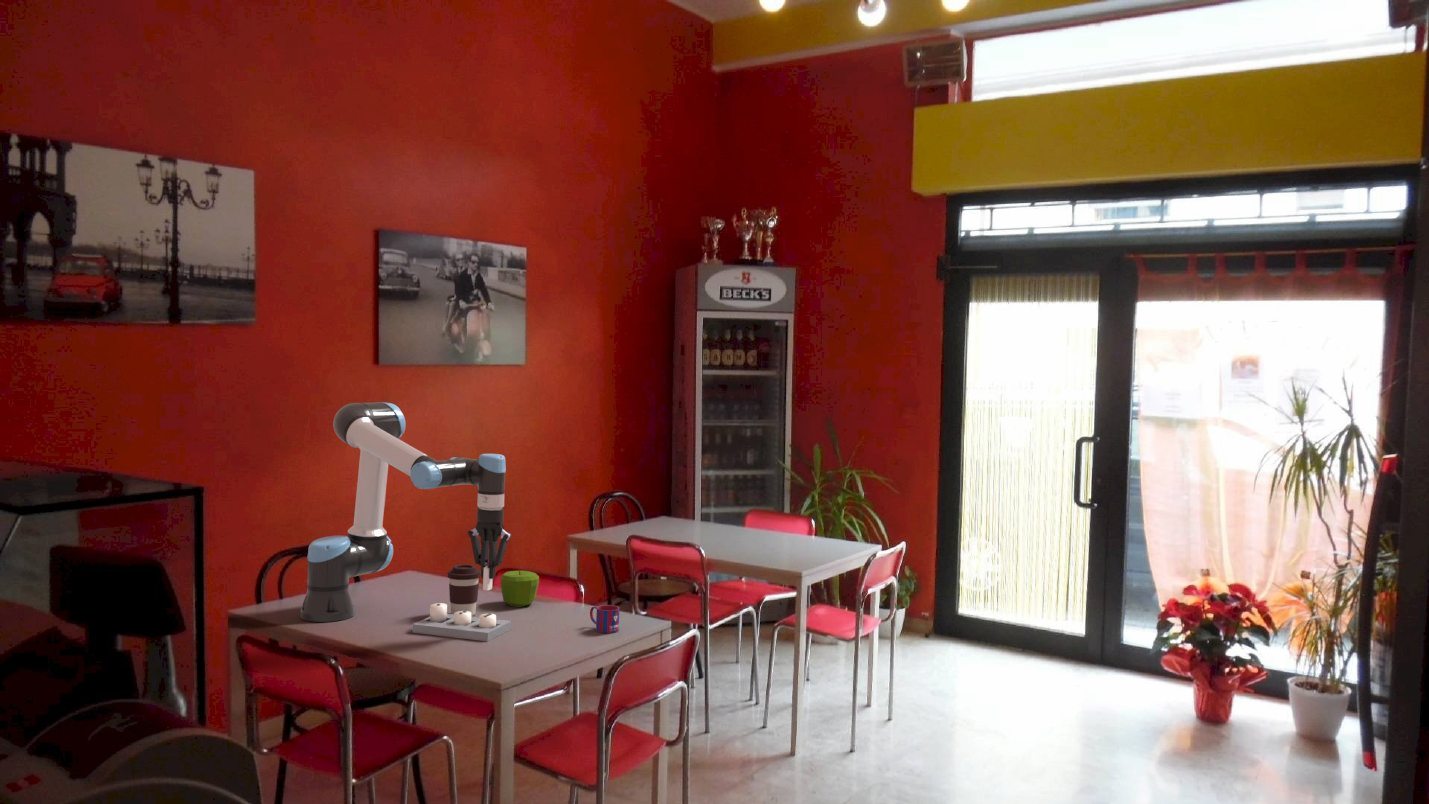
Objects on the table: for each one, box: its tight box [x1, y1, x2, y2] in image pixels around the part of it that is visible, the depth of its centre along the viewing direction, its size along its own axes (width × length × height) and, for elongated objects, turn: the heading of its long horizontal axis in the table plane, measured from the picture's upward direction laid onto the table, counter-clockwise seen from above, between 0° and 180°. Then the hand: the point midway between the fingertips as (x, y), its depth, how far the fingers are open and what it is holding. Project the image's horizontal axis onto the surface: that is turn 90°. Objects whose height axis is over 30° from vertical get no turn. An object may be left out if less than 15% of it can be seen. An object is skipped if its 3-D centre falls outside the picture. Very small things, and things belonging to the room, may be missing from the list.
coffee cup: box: [447, 564, 481, 617], centre depth 301 cm, size 10×10×15 cm
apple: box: [500, 569, 540, 608], centre depth 317 cm, size 12×12×11 cm
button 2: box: [454, 611, 471, 626], centre depth 284 cm, size 5×5×5 cm
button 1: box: [429, 602, 448, 622], centre depth 286 cm, size 5×5×5 cm
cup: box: [589, 604, 620, 634], centre depth 290 cm, size 7×10×7 cm
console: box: [412, 613, 512, 642], centre depth 284 cm, size 24×14×2 cm, turn 74°
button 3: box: [478, 612, 497, 629], centre depth 282 cm, size 5×5×5 cm
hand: (487, 589), depth 281 cm, fingers closed
